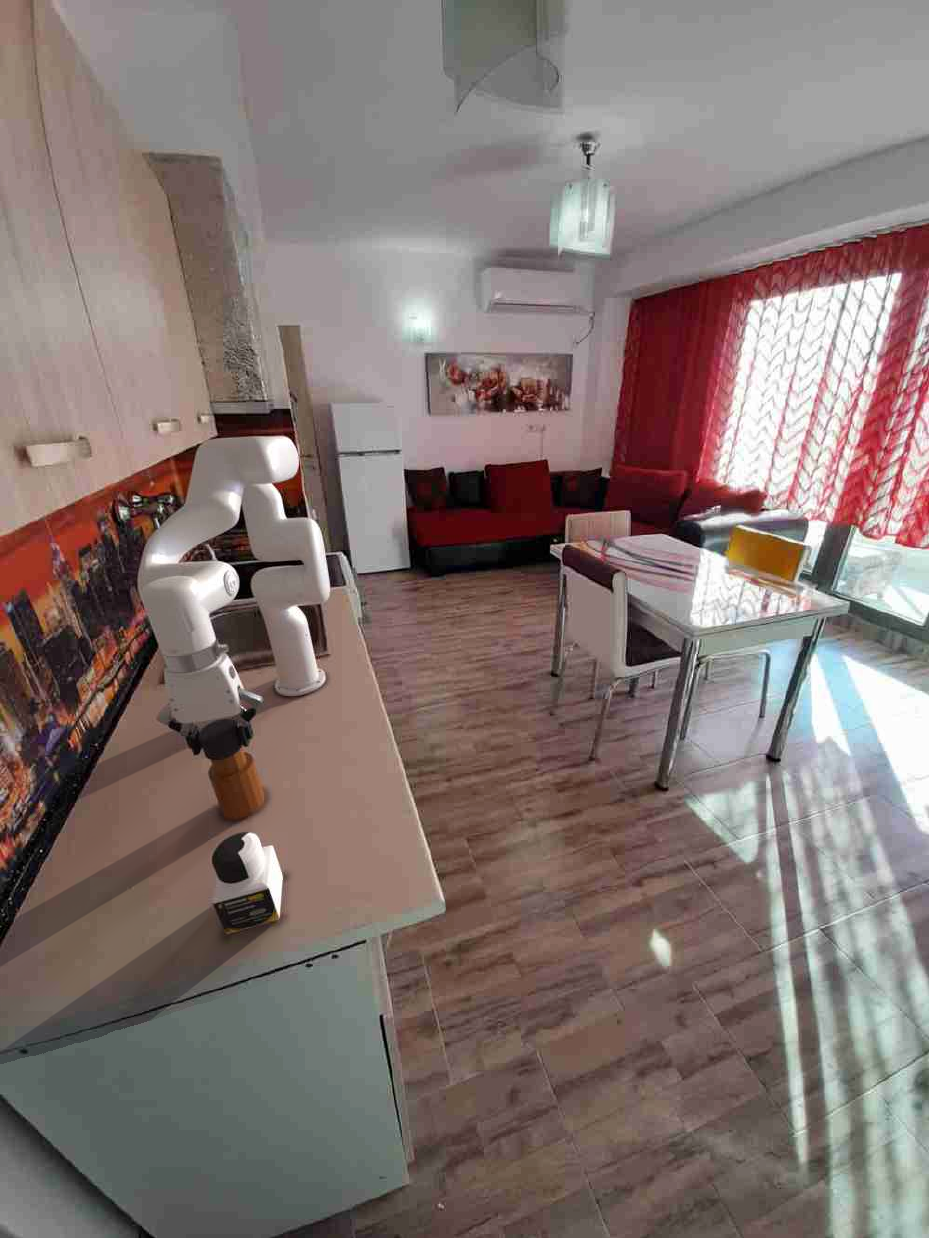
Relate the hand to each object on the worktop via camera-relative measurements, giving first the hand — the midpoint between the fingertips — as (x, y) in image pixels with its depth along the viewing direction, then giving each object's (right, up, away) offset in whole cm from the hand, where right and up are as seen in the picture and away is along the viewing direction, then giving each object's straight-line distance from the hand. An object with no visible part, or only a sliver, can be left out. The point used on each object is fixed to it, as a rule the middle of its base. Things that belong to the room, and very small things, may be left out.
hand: (223, 745), depth 81 cm
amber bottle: (+1, -12, +6) cm, 14 cm away
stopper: (0, -4, +2) cm, 4 cm away
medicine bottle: (+11, -20, -12) cm, 26 cm away
